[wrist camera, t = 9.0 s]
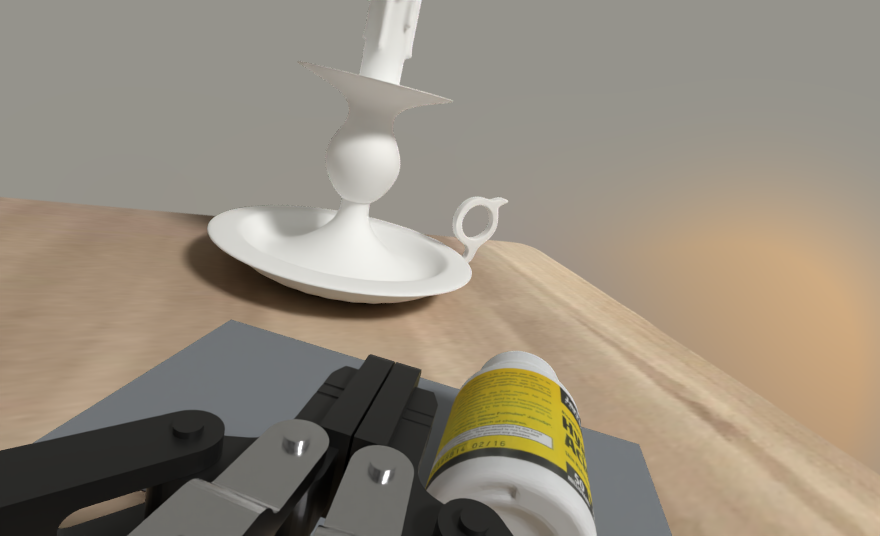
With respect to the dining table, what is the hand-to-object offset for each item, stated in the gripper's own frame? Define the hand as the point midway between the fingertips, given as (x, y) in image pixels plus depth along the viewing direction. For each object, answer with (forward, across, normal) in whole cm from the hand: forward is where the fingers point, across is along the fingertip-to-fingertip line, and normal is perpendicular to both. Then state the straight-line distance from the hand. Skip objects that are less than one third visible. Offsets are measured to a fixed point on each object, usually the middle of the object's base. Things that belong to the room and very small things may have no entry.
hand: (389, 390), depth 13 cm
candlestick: (+26, +8, +7) cm, 28 cm away
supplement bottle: (0, -4, +4) cm, 6 cm away
